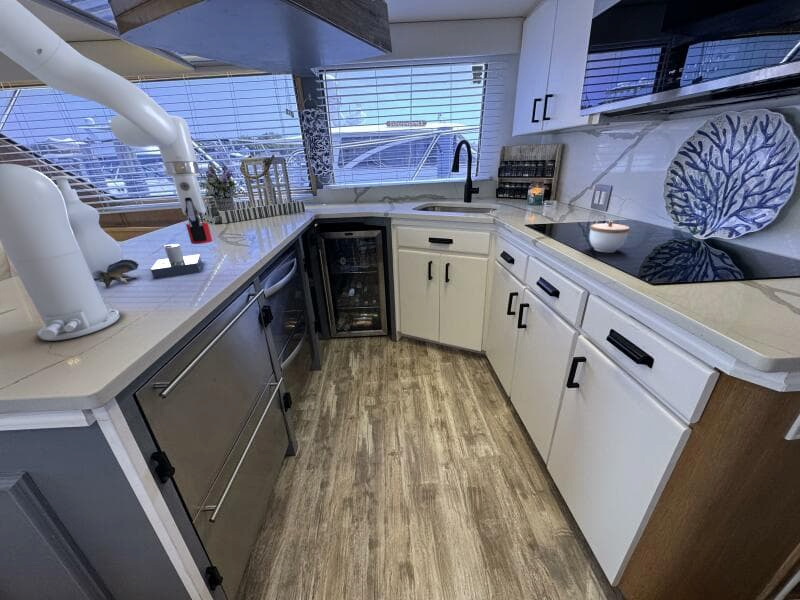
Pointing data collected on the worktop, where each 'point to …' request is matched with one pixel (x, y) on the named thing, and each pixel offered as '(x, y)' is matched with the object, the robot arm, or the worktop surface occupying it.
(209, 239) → the strawberry toy
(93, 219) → the soap bottle
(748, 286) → the worktop surface
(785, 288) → the worktop surface
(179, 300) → the worktop surface
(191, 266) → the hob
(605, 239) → the trinket box
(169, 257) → the knob
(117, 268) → the squirrel figurine
